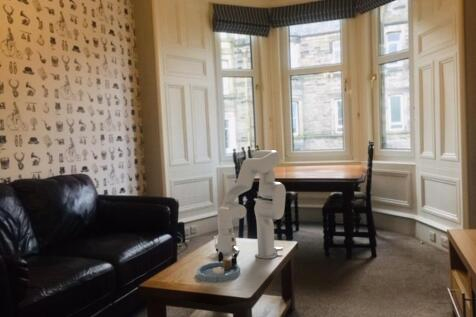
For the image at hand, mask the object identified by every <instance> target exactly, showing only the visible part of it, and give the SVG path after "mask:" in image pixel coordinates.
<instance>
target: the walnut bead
mask: <svg viewBox="0 0 476 317" xmlns="http://www.w3.org/2000/svg"><path fill="white" fill-rule="evenodd" d="M222 262H223V268H224V271H230V270H232V263H231V258H224V259H223V261H222Z"/></svg>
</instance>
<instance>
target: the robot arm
mask: <svg viewBox="0 0 476 317" xmlns="http://www.w3.org/2000/svg"><path fill="white" fill-rule="evenodd" d="M280 161H281V155H280V153H279V152H278V151H277V150H270V149H269V150H268V149H267V150H266V149H263V150H261V149H260V150H255V151H254V152H253V153H252V158H251V157H250V158H246V159H244V160H243V162H242V164H241V167H240V170H239V172H238V177H237V180H236V183H235V184H234V185H232V186H231V188H230V189H229V190H228V191H227V192H226V193H225V196H224V197H223V200H222V202H221V206H220V207H218V208H217V229H218V234H217V236H218V237H217V242H216V244H215V243H214V248H215V251H216V254H217V258H218V261H217V262H223V259H225V258H224V254H223V253H227V254H226V255H230V257H231V258H230V259H231V263H232V266H234V265H238V261H237V260H238V259H237V258H238V256H239V254H240V249H239V248H238V245H237V240H236V235H235V233H234V232H235V231H234V226H233V223H234V222H233V221H234V220H241V219H244V217H246V215H247V208H246V206H244V205H242V204H239V203H234V202H235V200H236V199H237V198H238V197H239V196H240V195H241V194H243V193H245V192H248V191H249V190H251V189H252V187H253V183H254V180H255V177H256V175H259V185H258V195H259V196H260V197H261V198H264V200H263V199H262V200H261V199H260V200H258V201H256V202H255V204H254V208H253V209H254V214H255V220H256V234H257V251H256V252H255V258H259V259H266V260H267V259H274V258H276V257H278V252H282V251H284V248H283V247H279V246H277V247H276V246H275V224H274V221H273V220H280V219H282V217H284V214H285V208H286V207H285V206H286V205H285V204H286V194H287V193H286V192H287V191H286V187H285V185H284V184H283V183H282V182H279V181H275V180H276V179H275V178H276V172H275V169H274V168H276V167H277V166H278V165H279V164H280V163H281V162H280ZM266 199H269V200H266ZM270 199H272V201H271V200H270ZM222 252H223V253H222Z"/></svg>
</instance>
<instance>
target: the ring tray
mask: <svg viewBox="0 0 476 317" xmlns="http://www.w3.org/2000/svg"><path fill="white" fill-rule="evenodd" d="M240 275H241V267H240V266H239V264H237V265H234V266H232V270H230V271H224V268H223V261H221V262H218V261H216V262H215V261H214V262H208V263H206V264H202V265H200V266H199V267H198V268H197V269H196V276H197V279H199V280H200V281H203V282H205V283H224V282H230V281H233V280H235V279H238V277H239V276H240Z"/></svg>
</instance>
